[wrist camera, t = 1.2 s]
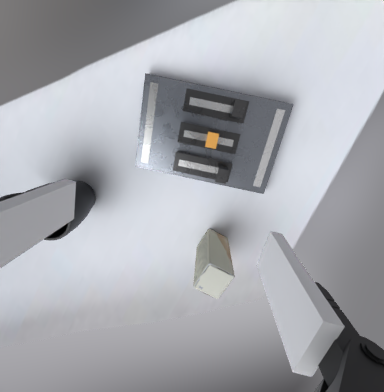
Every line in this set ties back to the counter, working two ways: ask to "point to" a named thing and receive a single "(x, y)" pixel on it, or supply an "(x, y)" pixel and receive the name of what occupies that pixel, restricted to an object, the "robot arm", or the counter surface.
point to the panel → (173, 126)
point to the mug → (82, 208)
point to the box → (213, 265)
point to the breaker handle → (212, 140)
